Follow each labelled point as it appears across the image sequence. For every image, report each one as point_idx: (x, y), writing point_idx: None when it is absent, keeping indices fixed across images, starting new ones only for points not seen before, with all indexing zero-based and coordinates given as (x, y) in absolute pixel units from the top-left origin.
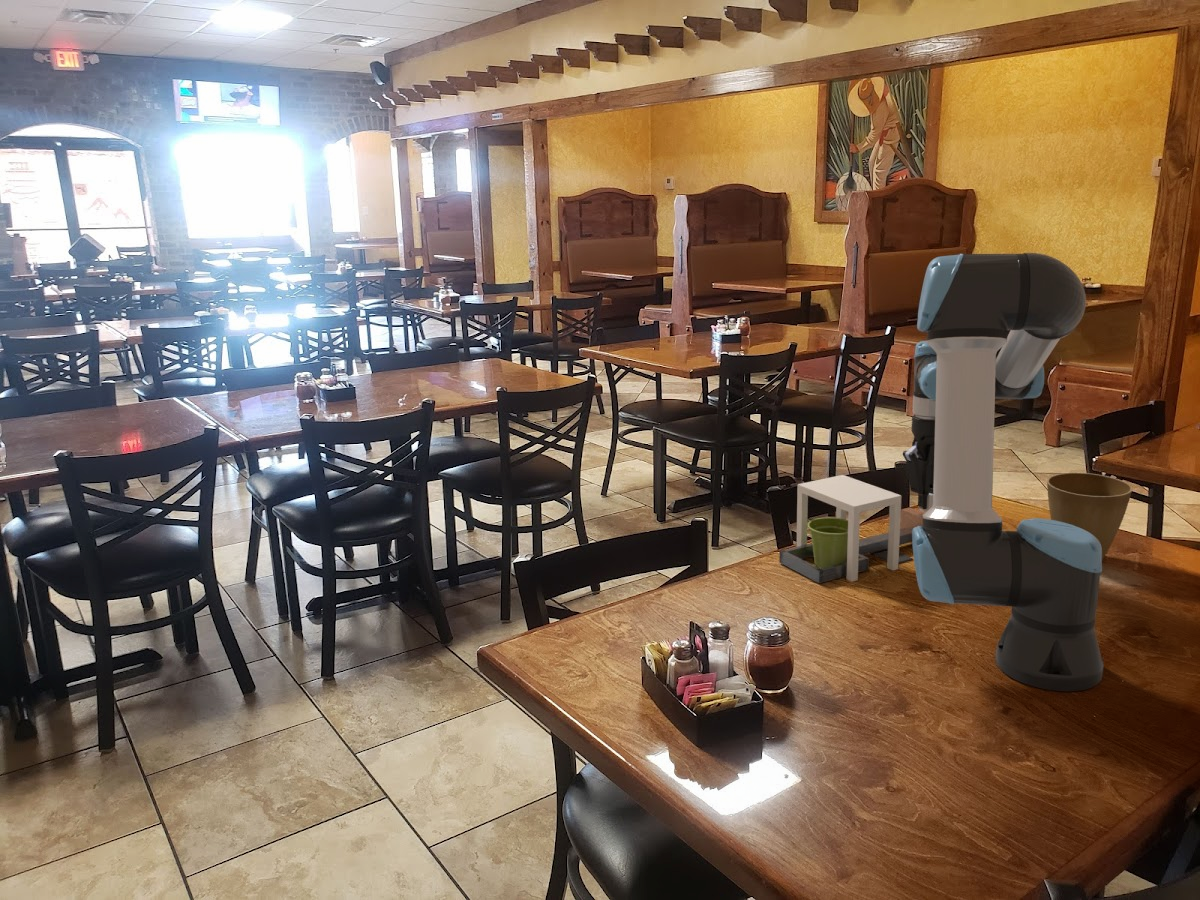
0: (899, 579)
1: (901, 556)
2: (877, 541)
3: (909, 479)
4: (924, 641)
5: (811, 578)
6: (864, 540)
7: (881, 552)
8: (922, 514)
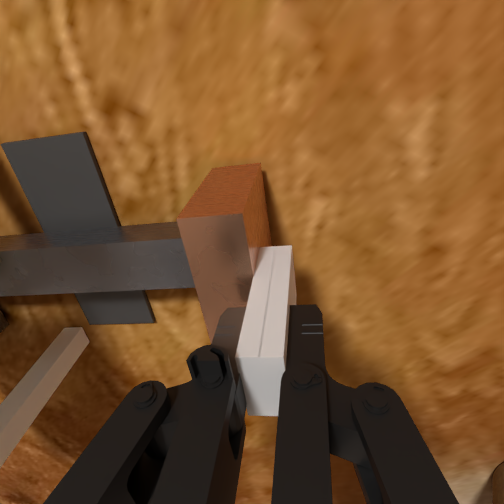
0: (70, 376)
1: (128, 301)
2: (31, 291)
3: (62, 487)
4: (30, 496)
5: None
6: None
7: None
8: None
